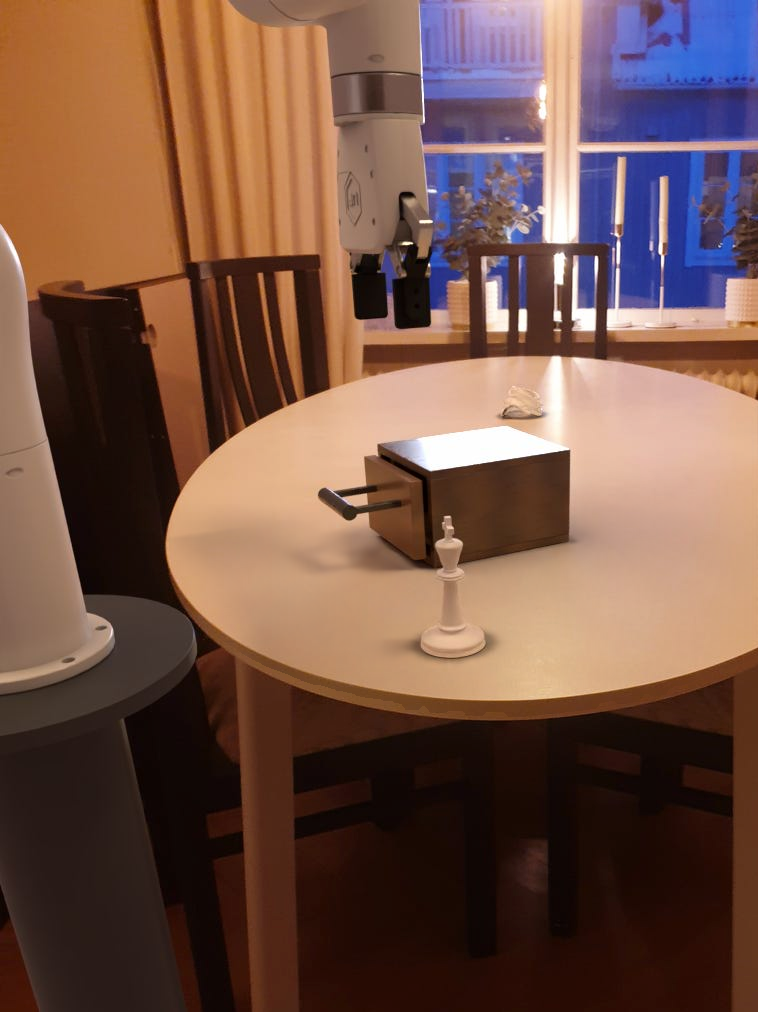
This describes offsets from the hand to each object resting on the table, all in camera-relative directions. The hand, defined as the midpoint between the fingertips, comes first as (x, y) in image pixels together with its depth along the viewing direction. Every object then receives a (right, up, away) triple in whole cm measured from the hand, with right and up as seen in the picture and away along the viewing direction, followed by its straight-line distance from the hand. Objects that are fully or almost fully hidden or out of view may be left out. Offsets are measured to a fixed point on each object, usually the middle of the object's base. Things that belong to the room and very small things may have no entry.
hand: (391, 323), depth 84 cm
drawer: (+3, -18, +7) cm, 20 cm away
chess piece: (+6, -29, -13) cm, 32 cm away
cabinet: (+7, -18, +10) cm, 22 cm away
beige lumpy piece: (+15, +7, +64) cm, 66 cm away
